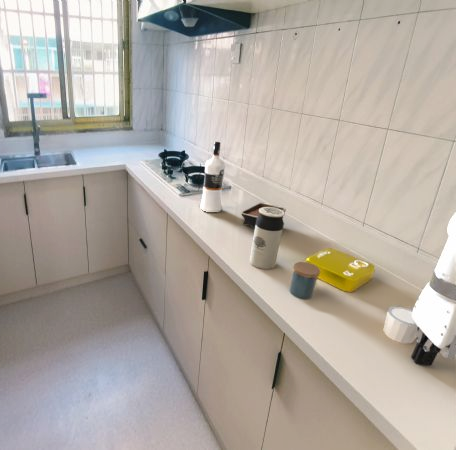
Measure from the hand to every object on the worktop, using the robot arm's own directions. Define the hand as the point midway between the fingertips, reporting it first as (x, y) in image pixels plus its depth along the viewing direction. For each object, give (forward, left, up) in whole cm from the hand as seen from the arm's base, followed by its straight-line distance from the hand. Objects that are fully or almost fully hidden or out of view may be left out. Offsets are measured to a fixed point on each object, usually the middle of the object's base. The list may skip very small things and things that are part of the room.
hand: (420, 361), depth 69 cm
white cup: (0, -9, -2) cm, 9 cm away
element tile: (+3, -37, -2) cm, 37 cm away
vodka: (+40, -85, -2) cm, 94 cm away
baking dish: (+20, -70, -2) cm, 72 cm away
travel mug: (+25, -40, -2) cm, 47 cm away
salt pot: (+17, -25, -2) cm, 30 cm away
